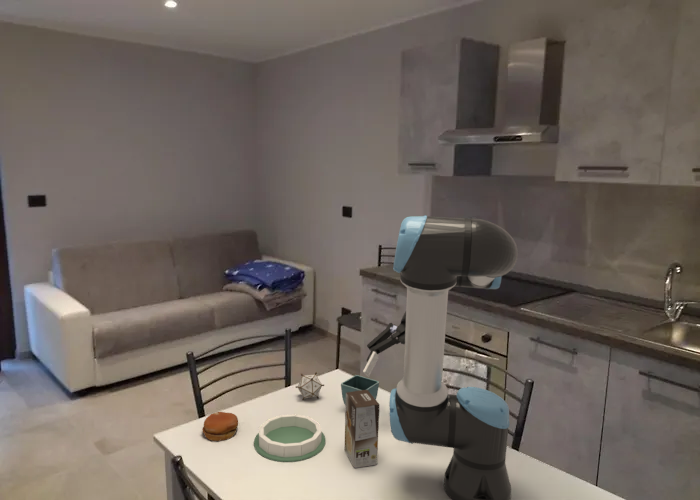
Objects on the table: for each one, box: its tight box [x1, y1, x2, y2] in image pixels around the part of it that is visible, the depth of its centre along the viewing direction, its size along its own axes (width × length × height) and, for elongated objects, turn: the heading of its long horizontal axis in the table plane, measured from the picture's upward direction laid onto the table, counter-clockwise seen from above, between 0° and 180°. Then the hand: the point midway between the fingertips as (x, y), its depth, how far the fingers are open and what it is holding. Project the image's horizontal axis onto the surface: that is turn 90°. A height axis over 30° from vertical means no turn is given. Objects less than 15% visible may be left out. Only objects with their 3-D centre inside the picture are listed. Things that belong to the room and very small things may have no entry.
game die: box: [295, 371, 325, 401], centre depth 160 cm, size 9×8×10 cm
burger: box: [202, 411, 239, 442], centre depth 138 cm, size 10×9×5 cm
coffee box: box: [344, 390, 380, 469], centre depth 127 cm, size 9×6×16 cm
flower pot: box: [340, 374, 380, 407], centre depth 153 cm, size 9×9×9 cm
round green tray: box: [253, 413, 326, 463], centre depth 134 cm, size 19×19×4 cm
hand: (386, 381), depth 134 cm, fingers open, 13 cm apart
